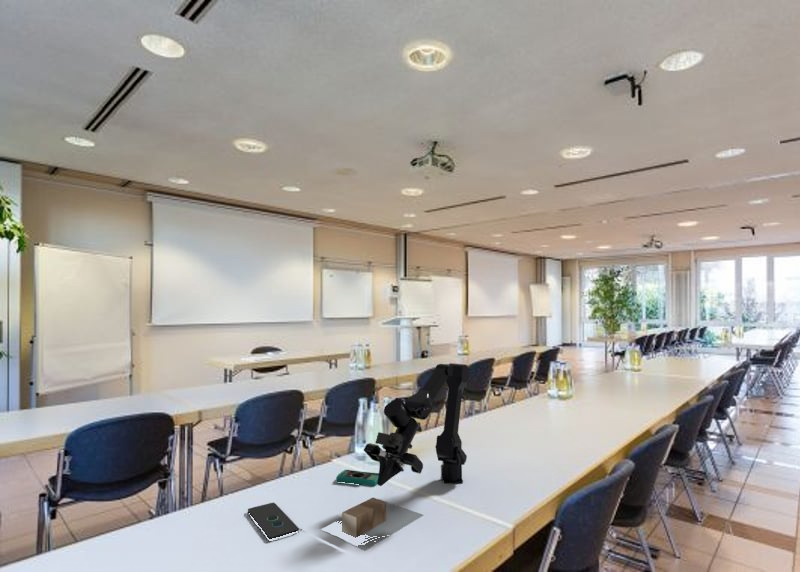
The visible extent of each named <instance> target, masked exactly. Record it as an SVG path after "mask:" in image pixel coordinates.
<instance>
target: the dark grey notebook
mask: <svg viewBox="0 0 800 572" xmlns="http://www.w3.org/2000/svg"><path fill="white" fill-rule="evenodd" d="M248 512H249V513H250V515H251V516H252V517H253V518H254V520H255V521H256V522H257V523H258V525H259V526H260V527H261V528H262V530H263V531H264V532H265V534H266V535H267V537H268V538H269V539H272V538H276V537H280V536H283V535H286V534H289V533H292V532H296V531H298V532H299V527H298V526H297V524H295V522H294V521H293V520H292V518H290V517H289V516H288V515H287V513H285V512H284V511H283V510H282V509H281V508H280V507H279V505H278V504H277V503H276V502H269V503H265V504H261V505H257V506H254V507H250V508H247V513H248Z"/></svg>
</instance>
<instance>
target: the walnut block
mask: <svg viewBox="0 0 800 572" xmlns="http://www.w3.org/2000/svg"><path fill="white" fill-rule="evenodd" d="M379 499H380V498H376V497H371V498H369V499H367V500H365V501H363V502H360V503H359V504H356V505H355V506H352V507H350V508H348V509H346V510H343V511H342V512H341V518H342V532H344V533H346V534H348V535H351V536H353V537H355V538H356V537H358V536H360V535H362V534H364V533H365V532H367V531H369V530H371V529H373V528H374V527H376V526H378V525H380V524H381V523H383V522H385V521H386V502H387V501H386V502H384V501H385V500H383V499H381V500H379ZM382 500H383V501H382Z"/></svg>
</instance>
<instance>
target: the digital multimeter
mask: <svg viewBox="0 0 800 572" xmlns="http://www.w3.org/2000/svg"><path fill="white" fill-rule="evenodd" d="M378 475H379V472H368V471H359V470H352V469H344V470H341V472H340V473H338V474H337V475H336V480H335V482H336V481H337V482H345V483H354V484H359V485H362V486H369V487H377V486H378V484H377V482H378Z"/></svg>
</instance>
